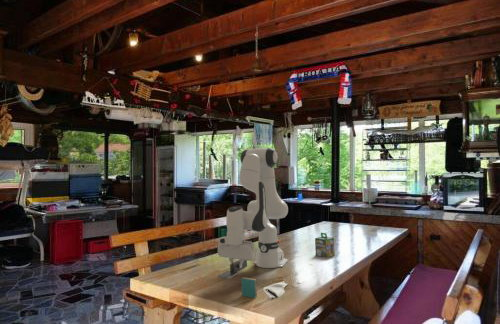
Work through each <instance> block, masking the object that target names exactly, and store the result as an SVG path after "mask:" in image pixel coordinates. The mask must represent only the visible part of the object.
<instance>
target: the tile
mask: <svg viewBox="0 0 500 324" xmlns="http://www.w3.org/2000/svg"><path fill="white" fill-rule="evenodd" d="M257 288H258V286H257V279H256V278H251V277H246V276H245V277H244V276H243V277H241V296H243V297H247V298H252V299H253V298H254V299H255V298H257V296H258V295H257V294H258V291H257Z"/></svg>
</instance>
